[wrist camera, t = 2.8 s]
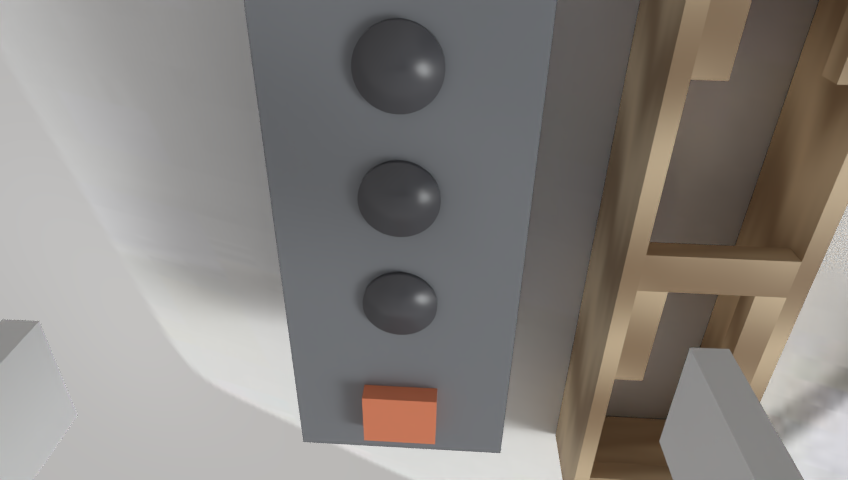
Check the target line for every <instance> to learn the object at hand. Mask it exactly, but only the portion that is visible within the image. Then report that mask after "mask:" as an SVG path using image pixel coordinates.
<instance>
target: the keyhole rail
mask: <svg viewBox="0 0 848 480" xmlns="http://www.w3.org/2000/svg"><path fill="white" fill-rule="evenodd" d="M751 2H752V0H640V4H639V10H638V15H637V20H636V25H635V30H634V35H633V40H632V45H631V51H630V56H629V61H628V66H627V71H626V76H625V81H624V87H623V92H622V97H621V102H620V107H619V112H618V117H617V122H616V128H615V133H614V138H613V143H612V148H611V153H610V158H609V164H608V169H607V174H606V179H605V184H604V189H603V194H602V199H601V205H600V210H599V215H598V220H597V225H596V230H595V235H594V241H593V246H592V251H591V256H590V261H589V266H588V271H587V276H586V282H585V287H584V292H583V297H582V302H581V307H580V312H579V318H578V323H577V328H576V333H575V338H574V343H573V348H572V353H571V359H570V364H569V369H568V374H567V379H566V384H565V389H564V395H563V400H562V405H561V410H560V415H559V420H558V425H557V430H556V441H557V447H558V453H559V459H560V466H561V472H562V478H563V480H673V479H672V476H671V473H670V470H669V467H668V465H667V462H666V459H665V456H664V453H663V451H662V448H661V445H660V442H659V441H660V438H661V435H662V431H663V428H664V425H665V422H666V419H648V418H630V417H611V416H606V412H607V408H608V404H609V400H610V396H611V392H612V388H613V384H614V380H615V379H618V380H638V381H643V378H644V374H645V371H646V367H647V364H648V360H649V357H650V353H651V350H652V346H653V343H654V339H655V336H656V332H657V329H658V325H659V322H660V318H661V315H662V312H663V308H664V305H665V301H666V298H667V294H668V292H672V293H694V294H716V295H718V297H717V300H716V302H715V305H714V308H713V311H712V314H711V317H710V320H709V323H708V326H707V329H706V332H705V334H704V337H703V340H702V343H701V346H700V348H716V349H730V351H731V353H732V355H733V356H734V358H735V360H736V362H737V363H738V365H739V367H740V369H741V370H742V372H743V374H744V376H745V377H746V379H747V381H748V383H749V384H750V386H751V388H752V390H753V391H754V393H755V395H756V397H757V398H758V400H759V402H760V401H761V398H762V396H763V394H764V392H765V389H766V387H767V385H768V383H769V380H770V378H771V376H772V374H773V371H774V369H775V367H776V365H777V362H778V360H779V358H780V356H781V353H782V351H783V349H784V346H785V344H786V342H787V340H788V337H789V335H790V333H791V331H792V328H793V326H794V324H795V322H796V319H797V317H798V315H799V313H800V310H801V308H802V306H803V303H804V301H805V299H806V297H807V294H808V292H809V290H810V288H811V285H812V283H813V281H814V279H815V276H816V274H817V272H818V270H819V267H820V265H821V263H822V261H823V258H824V256H825V254H826V251H827V249H828V247H829V245H830V242H831V240H832V238H833V236H834V233H835V231H836V229H837V227H838V224H839V222H840V220H841V218H842V215H843V213H844V211H845V208H846V206H847V204H848V0H819V3H818V6H817V9H816V12H815V14H814V17H813V20H812V23H811V26H810V29H809V32H808V35H807V38H806V41H805V44H804V46H803V49H802V52H801V55H800V58H799V61H798V64H797V67H796V70H795V73H794V76H793V78H792V81H791V84H790V87H789V90H788V93H787V96H786V99H785V102H784V105H783V108H782V110H781V113H780V116H779V119H778V122H777V125H776V128H775V131H774V134H773V137H772V140H771V142H770V145H769V148H768V151H767V154H766V157H765V160H764V163H763V166H762V169H761V172H760V174H759V177H758V180H757V183H756V186H755V189H754V192H753V195H752V198H751V201H750V204H749V206H748V209H747V212H746V215H745V218H744V221H743V224H742V227H741V230H740V233H739V236H738V238H737V241H736V244H735V246H726V245H703V244H680V243H656V242H650V238H651V234H652V230H653V226H654V222H655V218H656V214H657V210H658V206H659V202H660V199H661V195H662V191H663V187H664V183H665V179H666V175H667V171H668V167H669V163H670V159H671V155H672V151H673V147H674V143H675V139H676V135H677V131H678V128H679V124H680V120H681V116H682V112H683V108H684V104H685V100H686V96H687V92H688V88H689V84H690V80H711V81H729V79H730V75H731V72H732V68H733V65H734V61H735V58H736V54H737V51H738V47H739V44H740V41H741V37H742V34H743V30H744V27H745V23H746V20H747V16H748V13H749V9H750V6H751Z"/></svg>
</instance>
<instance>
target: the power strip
mask: <svg viewBox="0 0 848 480" xmlns="http://www.w3.org/2000/svg"><path fill="white" fill-rule="evenodd" d="M244 5H245V12H246V20H247V27H248V35H249V42H250V49H251V57H252V64H253V72H254V79H255V86H256V94H257V101H258V109H259V116H260V124H261V131H262V138H263V146H264V153H265V161H266V168H267V175H268V183H269V190H270V198H271V205H272V212H273V220H274V227H275V235H276V242H277V249H278V257H279V264H280V272H281V279H282V286H283V294H284V301H285V309H286V316H287V323H288V331H289V338H290V346H291V353H292V361H293V368H294V375H295V383H296V390H297V398H298V405H299V412H300V420H301V427H302V435H303V441H304V442H314V443H315V442H316V443H332V444H350V445H367V446H385V447H403V448H420V449H438V450H456V451H473V452H491V453H500V451H501V443H502V435H503V427H504V419H505V411H506V403H507V395H508V387H509V379H510V371H511V363H512V356H513V348H514V340H515V332H516V324H517V316H518V308H519V300H520V292H521V284H522V276H523V268H524V260H525V252H526V244H527V236H528V228H529V220H530V212H531V204H532V196H533V188H534V180H535V172H536V164H537V156H538V148H539V141H540V133H541V125H542V117H543V109H544V101H545V93H546V85H547V77H548V69H549V61H550V53H551V45H552V37H553V29H554V21H555V13H556V5H557V0H244Z"/></svg>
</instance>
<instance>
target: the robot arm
mask: <svg viewBox="0 0 848 480" xmlns="http://www.w3.org/2000/svg"><path fill="white" fill-rule="evenodd" d="M77 416H78V414H77V412H76V409H75V407H74V405H73V402H72V400H71V397H70V395H69V392H68V390H67V387H66V385H65V383H64V380H63V378H62V375H61V373H60V371H59V368H58V366H57V363H56V361H55V358H54V356H53V353H52V351H51V349H50V346H49V344H48V341H47V339H46V336H45V334H44V331H43V329H42V326H41V324H40V322H39V321H26V320H2V321H1V322H0V480H34V478H35V477H36V475H37V474H38V473H39V471H40V470H41V468H42V467H43V465H44V464H45V462H46V461H47V460H48V458H49V457H50V455H51V454H52V452H53V451H54V449H55V448H56V446H57V445H58V444H59V442H60V441H61V439H62V438H63V436H64V435H65V433H66V432H67V430H68V429H69V428H70V426H71V425H72V423H73V422H74V420H75V419H76V417H77ZM659 442H660V445H661V448H662V451H663V453H664V456H665V459H666V462H667V465H668V467H669V470H670V473H671V476H672V479H673V480H804V479H803V477H802V475H801V474H800V472H799V470H798V468H797V467H796V465H795V463H794V461H793V460H792V458H791V456H790V454H789V453H788V451H787V449H786V447H785V446H784V444H783V442H782V440H781V439H780V437H779V435H778V433H777V432H776V430H775V428H774V426H773V425H772V423H771V421H770V419H769V418H768V416H767V414H766V412H765V411H764V409H763V407H762V405H761V404H760V402H759V400H758V398H757V397H756V395H755V393H754V391H753V390H752V388H751V386H750V384H749V383H748V381H747V379H746V377H745V376H744V374H743V372H742V370H741V369H740V367H739V365H738V363H737V362H736V360H735V358H734V356H733V355H732V353H731V351H730V349H716V348H692V347H690V349H689V352H688V355H687V358H686V361H685V364H684V367H683V370H682V373H681V377H680V380H679V383H678V386H677V389H676V392H675V395H674V398H673V401H672V404H671V407H670V410H669V413H668V416H667V419H666V422H665V425H664V428H663V431H662V435H661V438H660V441H659Z"/></svg>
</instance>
